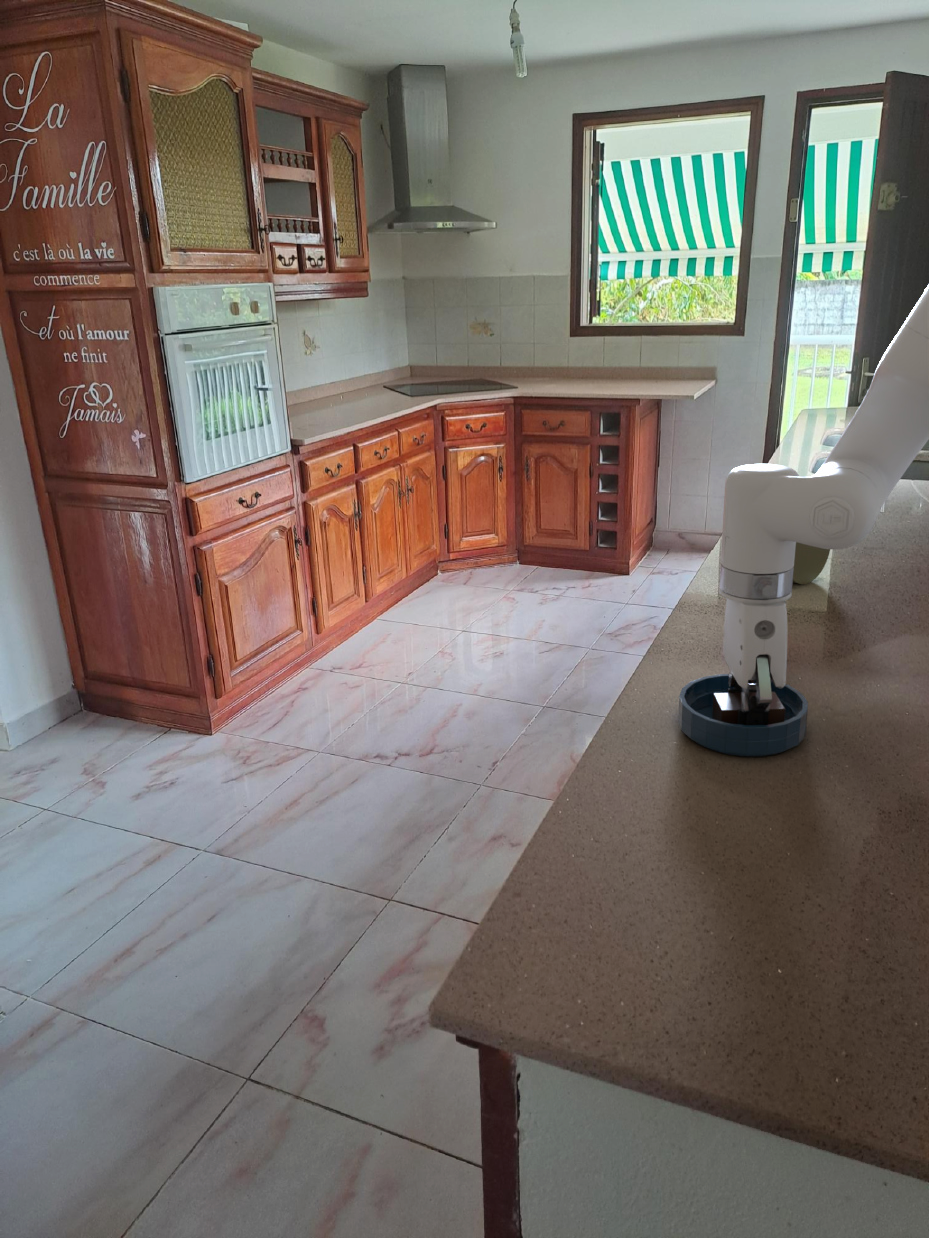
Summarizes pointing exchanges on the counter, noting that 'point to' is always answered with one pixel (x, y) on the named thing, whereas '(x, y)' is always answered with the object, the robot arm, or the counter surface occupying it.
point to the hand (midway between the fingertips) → (745, 728)
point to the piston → (808, 562)
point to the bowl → (735, 736)
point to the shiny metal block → (731, 702)
